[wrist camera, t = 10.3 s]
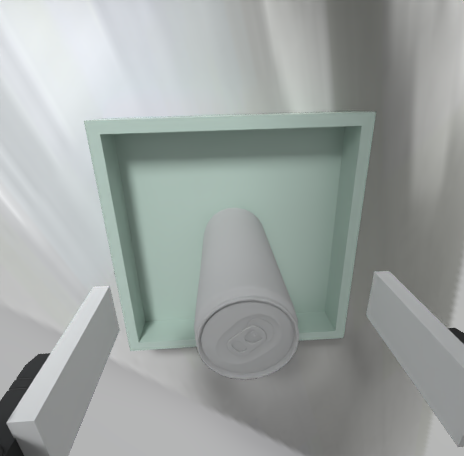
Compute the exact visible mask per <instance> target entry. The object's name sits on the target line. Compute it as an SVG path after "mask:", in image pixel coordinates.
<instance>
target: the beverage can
mask: <svg viewBox="0 0 464 456" xmlns="http://www.w3.org/2000/svg"><path fill="white" fill-rule="evenodd" d="M194 332H195V340H196V345H197V351H198V353H199V355H200V357H201V359H202V361H203V362H204V363H205V364H206V365H207V366H208V367H209V368H210V369H211V370H213V371H214V372H216V373H218V374H219V375H222V376H225V377H228V378H231V379H240V380H248V379H257V378H261V377H264V376H268V375H270V374H272V373H274V372H276V371H278V370H280V369H281V368H282V367H283V366H284V365H286V364H287V363H288V362H289V361H290V359H291V358H292V357H293V355H294V354H295V352H296V349H297V346H298V344H299V329H298V319H297V315H296V312H295V309H294V306H293V303H292V301H291V298H290V296H289V293H288V291H287V288H286V285H285V283H284V280H283V278H282V275H281V272H280V270H279V267H278V265H277V262H276V259H275V257H274V254H273V252H272V249H271V247H270V244H269V241H268V239H267V236H266V234H265V231H264V228H263V226H262V224H261V222H260V221H259V219H258V218H257V217H256V216H255V215H254V214H253V213H251V212H249V211H247V210H245V209H241V208H227V209H224V210H221V211H219V212H218V213H216V214H215V215H213V217H212V218H211V219H210V220H209V222H208V224H207V226H206V228H205V232H204V238H203V248H202V259H201V268H200V277H199V285H198V294H197V303H196V312H195V322H194Z"/></svg>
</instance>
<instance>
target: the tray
mask: <svg viewBox="0 0 464 456" xmlns="http://www.w3.org/2000/svg"><path fill="white" fill-rule="evenodd" d="M375 117H376V112H365V111H341V112H308V113H276V114H243V115H211V116H178V117H145V118H113V119H97V120H88V121H84V124H85V129H86V134H87V139H88V144H89V149H90V154H91V159H92V164H93V169H94V173H95V178H96V183H97V188H98V193H99V198H100V203H101V208H102V213H103V218H104V223H105V228H106V233H107V238H108V243H109V248H110V253H111V258H112V263H113V267H114V272H115V277H116V282H117V287H118V292H119V297H120V302H121V307H122V312H123V317H124V322H125V327H126V332H127V337H128V342H129V347H130V351H136V350H153V349H169V348H186V347H197V345H196V340H195V332H194V322H195V312H196V303H197V294H198V285H199V277H200V268H201V259H202V248H203V238H204V232H205V228H206V226H207V224H208V222H209V220H210V219H211V218H212V217H213V215H215V214H216V213H218V212H219V211H221V210H224V209H227V208H241V209H245V210H247V211H249V212H251V213H253V214H254V215H255V216H256V217H257V218H258V219H259V221H260V222H261V224H262V226H263V228H264V231H265V234H266V236H267V239H268V241H269V244H270V247H271V249H272V252H273V254H274V257H275V259H276V262H277V265H278V267H279V270H280V272H281V275H282V278H283V280H284V283H285V285H286V288H287V291H288V293H289V296H290V298H291V301H292V303H293V306H294V309H295V312H296V315H297V319H298V329H299V341H301V340H318V339H334V338H344V332H345V325H346V318H347V311H348V304H349V297H350V290H351V283H352V276H353V269H354V262H355V255H356V248H357V241H358V234H359V228H360V221H361V214H362V207H363V200H364V193H365V186H366V179H367V172H368V165H369V158H370V151H371V144H372V137H373V130H374V123H375Z"/></svg>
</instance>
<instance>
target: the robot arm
mask: <svg viewBox="0 0 464 456" xmlns="http://www.w3.org/2000/svg"><path fill="white" fill-rule="evenodd" d="M366 316H367V318H368V319H369V321H370V322H371V323H372V325H373V326H374V328H375V329H376V331H377V332H378V333H379V335H380V336H381V338H382V339H383V341H384V342H385V343H386V345H387V346H388V348H389V349H390V351H391V352H392V353H393V355H394V356H395V358H396V359H397V361H398V362H399V363H400V365H401V366H402V368H403V369H404V371H405V372H406V374H407V375H408V376H409V378H410V379H411V381H412V382H413V384H414V385H415V386H416V388H417V389H418V391H419V392H420V394H421V395H422V396H423V398H424V399H425V401H426V402H427V404H428V405H429V406H430V408H431V409H432V411H433V412H434V414H435V415H436V416H437V418H438V419H439V421H440V422H441V424H442V425H443V426H444V428H445V429H446V431H447V432H448V434H449V435H450V436H451V438H452V439H453V441H454V442H455V444H456V445H457V446H458V447H463V446H464V333H463V332H461V331H459V330H458V329H456V328H447V327H446V326H445V325H444V324H443V323H442V322H441V321H440V320H439V319H438V318H437V317H435V316H434V315H433V314H432V313H431V312H430V311H429V310H428V309H427V308H426V307H425V306H424V305H423V304H422V303H421V302H420V301H419V300H418V299H417V298H416V297H415V296H414V295H413V294H412V293H411V292H410V291H409V290H408V289H407V288H406V287H405V286H404V285H403V284H402V283H401V282H400V281H399V280H398V279H397V278H396V277H395V276H394V275H393V274H392V273H391V272H390V271H377V272H374V276H373V281H372V286H371V292H370V297H369V302H368V307H367V312H366ZM118 333H119V325H118V321H117V316H116V312H115V308H114V303H113V299H112V294H111V290H110V286H93V288H92V290H91V291H90V293H89V294H88V296H87V297H86V299H85V301H84V302H83V304H82V305H81V307H80V308H79V310H78V311H77V313H76V315H75V316H74V318H73V319H72V321H71V322H70V324H69V326H68V327H67V329H66V330H65V332H64V333H63V335H62V336H61V338H60V340H59V341H58V343H57V344H56V346H55V347H54V349H53V350H52V352H51V353H49V354H38V355H37V356H36V357H35V358H34V359H32V360H31V361H30V362H29V363H28V364H26V365H25V367H24V368H23V370H22V371H21V372H20V374H19V375H18V377H17V380H15V381H14V382H13V384H12V385H11V387H10V388H9V391H7V392H6V394H5V395H4V397H3V398H2V399H1V401H0V456H68V455H69V452H70V450H71V448H72V445H73V443H74V440H75V438H76V436H77V433H78V431H79V428H80V426H81V423H82V421H83V418H84V416H85V413H86V411H87V409H88V406H89V403H90V401H91V399H92V396H93V394H94V391H95V389H96V386H97V384H98V382H99V379H100V377H101V374H102V372H103V369H104V367H105V364H106V362H107V360H108V357H109V355H110V352H111V350H112V347H113V345H114V342H115V340H116V337H117V335H118Z"/></svg>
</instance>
